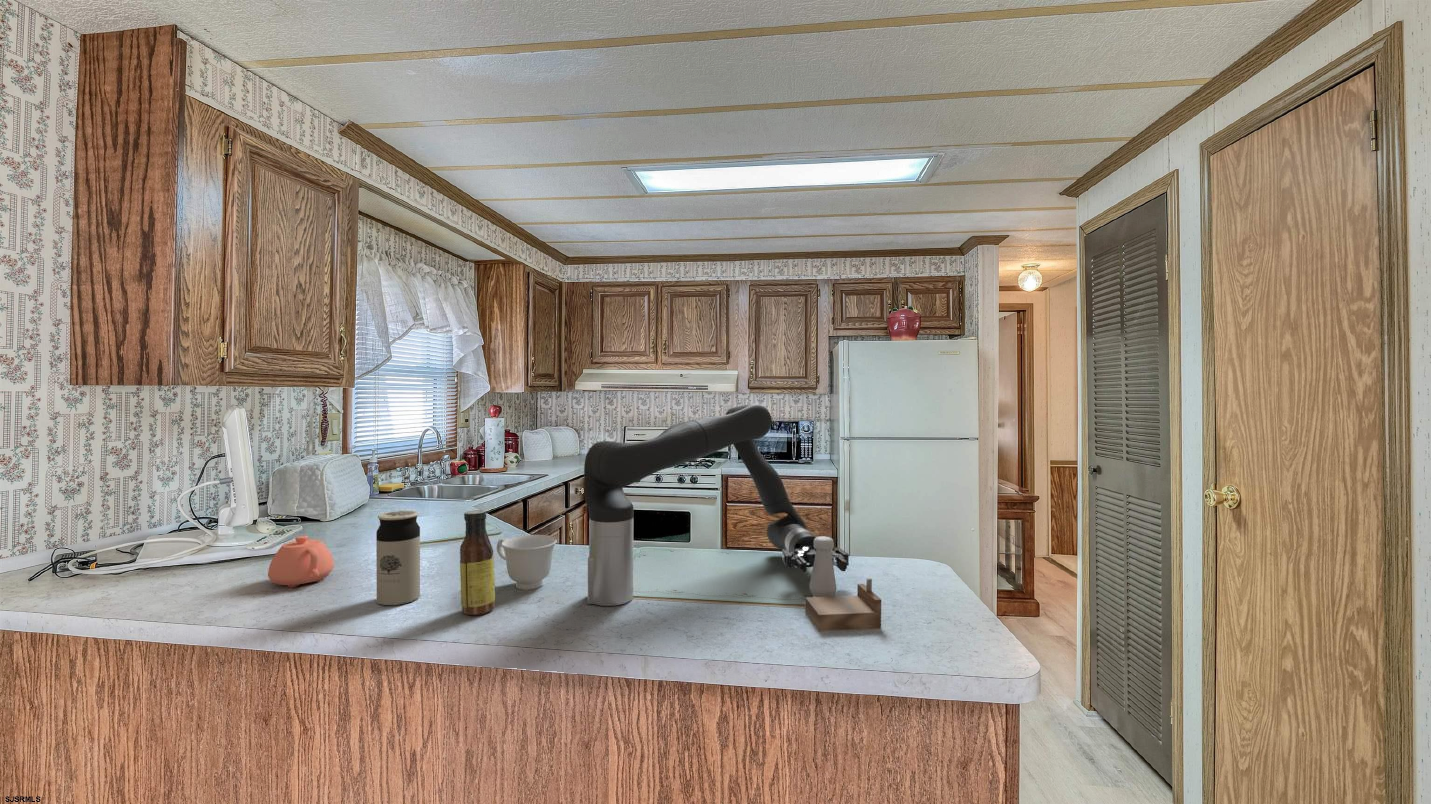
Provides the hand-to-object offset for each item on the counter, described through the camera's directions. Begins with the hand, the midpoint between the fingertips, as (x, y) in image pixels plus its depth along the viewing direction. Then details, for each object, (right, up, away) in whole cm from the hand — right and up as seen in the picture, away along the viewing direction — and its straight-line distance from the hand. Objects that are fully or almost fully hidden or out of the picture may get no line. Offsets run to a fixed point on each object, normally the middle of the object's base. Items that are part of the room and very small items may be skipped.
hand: (824, 567), depth 122 cm
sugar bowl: (-117, -6, +9) cm, 117 cm away
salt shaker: (0, -7, +1) cm, 7 cm away
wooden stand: (+1, -7, -11) cm, 13 cm away
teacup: (-67, -6, +8) cm, 67 cm away
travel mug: (-89, -6, -2) cm, 90 cm away
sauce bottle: (-71, -7, -8) cm, 71 cm away
